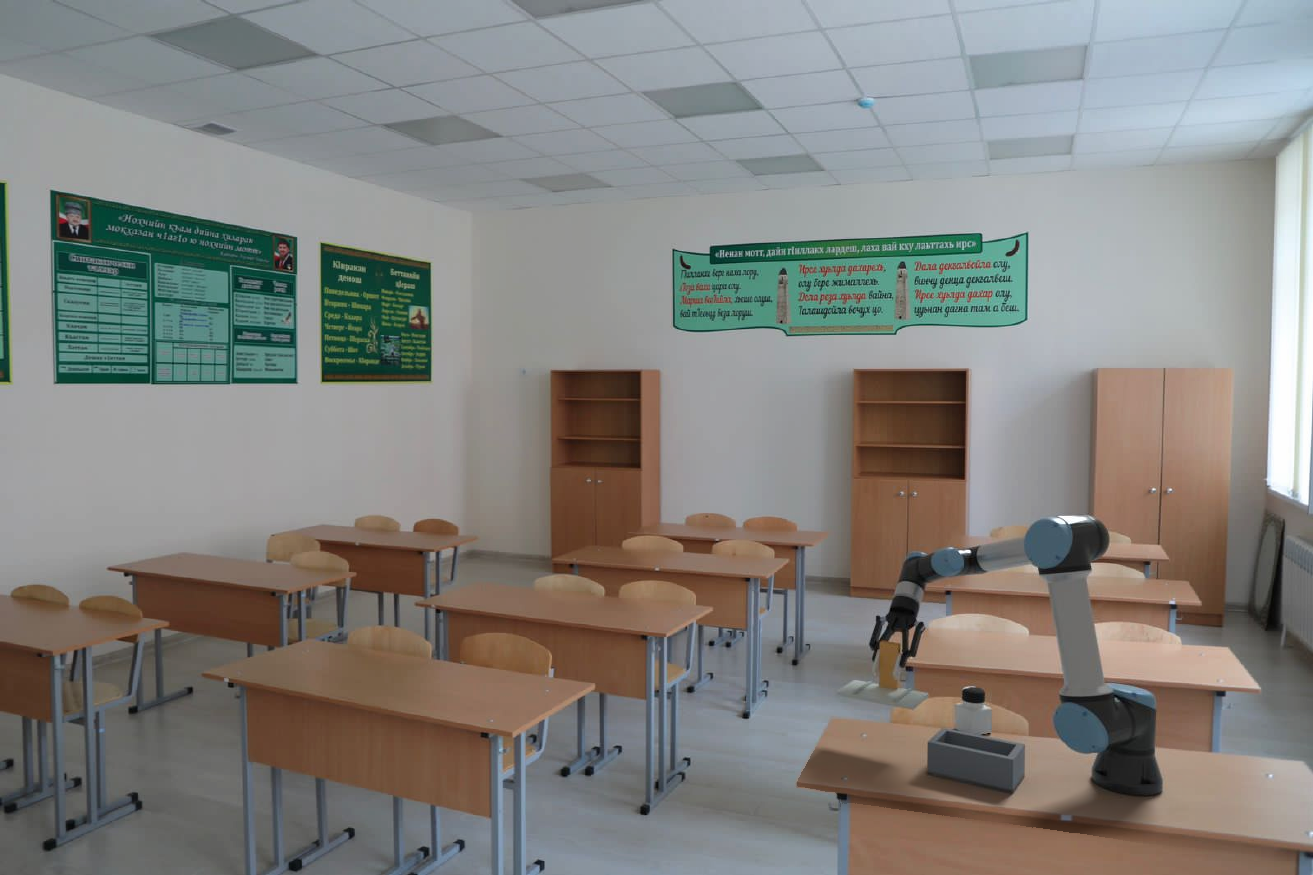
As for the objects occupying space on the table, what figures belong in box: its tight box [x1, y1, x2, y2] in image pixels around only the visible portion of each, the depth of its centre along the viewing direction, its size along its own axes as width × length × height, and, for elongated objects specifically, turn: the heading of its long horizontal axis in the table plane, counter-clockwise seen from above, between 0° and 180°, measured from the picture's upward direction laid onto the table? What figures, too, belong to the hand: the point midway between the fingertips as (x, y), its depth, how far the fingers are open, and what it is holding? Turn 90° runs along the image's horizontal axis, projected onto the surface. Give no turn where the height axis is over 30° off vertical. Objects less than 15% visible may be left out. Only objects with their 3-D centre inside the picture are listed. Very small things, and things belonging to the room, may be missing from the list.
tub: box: [926, 727, 1026, 795], centre depth 222 cm, size 20×12×8 cm, turn 56°
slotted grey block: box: [836, 641, 930, 711], centre depth 239 cm, size 20×12×14 cm, turn 56°
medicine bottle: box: [953, 686, 993, 736], centre depth 253 cm, size 7×7×12 cm
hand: (884, 674), depth 240 cm, fingers closed on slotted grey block, 5 cm apart
